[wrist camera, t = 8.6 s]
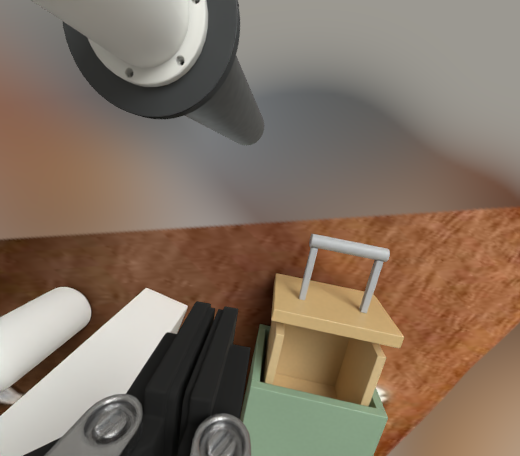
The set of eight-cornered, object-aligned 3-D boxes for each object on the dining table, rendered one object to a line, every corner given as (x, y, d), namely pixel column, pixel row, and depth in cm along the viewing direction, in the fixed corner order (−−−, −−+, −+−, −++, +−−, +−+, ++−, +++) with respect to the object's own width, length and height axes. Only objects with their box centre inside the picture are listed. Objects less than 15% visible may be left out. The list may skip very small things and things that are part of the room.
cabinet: (259, 323, 32) (250, 386, 23) (357, 345, 32) (388, 418, 23) (241, 411, 36) (226, 497, 27) (329, 432, 35) (345, 526, 26)
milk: (134, 323, 34) (-117, 581, 13) (146, 286, 33) (-115, 510, 11) (175, 341, 34) (-8, 629, 13) (189, 305, 33) (10, 565, 11)
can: (99, 325, 35) (7, 405, 23) (57, 329, 36) (-52, 408, 24) (85, 282, 33) (-21, 344, 22) (41, 287, 34) (-83, 349, 23)
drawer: (287, 218, 28) (289, 237, 20) (390, 239, 28) (431, 266, 20) (255, 367, 33) (247, 426, 25) (342, 386, 32) (360, 453, 25)
